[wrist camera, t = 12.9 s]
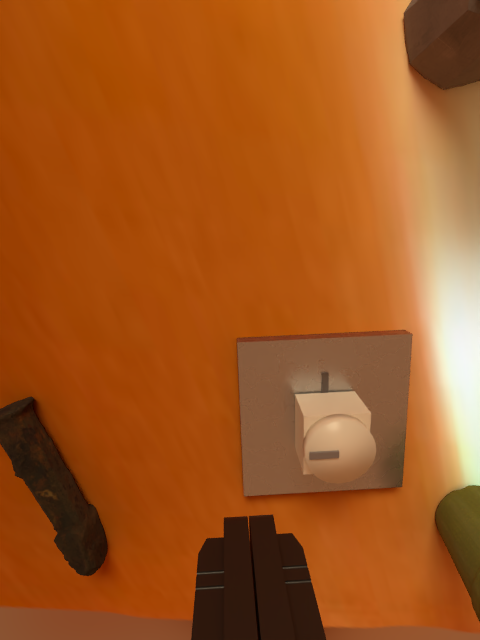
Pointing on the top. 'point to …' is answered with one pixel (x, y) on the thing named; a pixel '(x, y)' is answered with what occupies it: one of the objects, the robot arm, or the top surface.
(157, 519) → the top surface
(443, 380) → the top surface
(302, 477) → the block
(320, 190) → the top surface
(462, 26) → the coffeepot
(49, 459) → the hand tool
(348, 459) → the knob
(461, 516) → the plant pot
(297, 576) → the robot arm
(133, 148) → the top surface
